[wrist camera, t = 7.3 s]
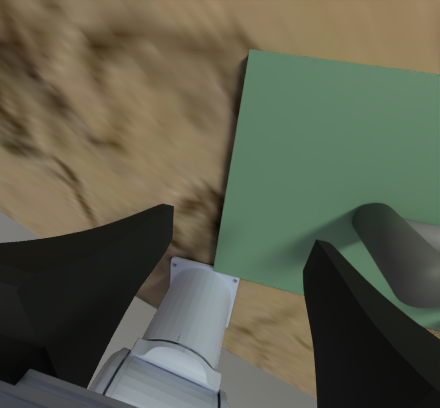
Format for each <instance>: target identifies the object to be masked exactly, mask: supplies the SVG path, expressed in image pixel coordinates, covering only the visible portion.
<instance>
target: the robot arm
mask: <svg viewBox="0 0 440 408" xmlns="http://www.w3.org/2000/svg"><path fill="white" fill-rule="evenodd" d="M173 213H174V206H171V205H166V204H160V205H157V206H155V207H152V208H150V209H147V210H145V211H142V212H140V213H137V214H135V215H132V216H130V217H127V218H124V219H121V220H119V221H116V222H113V223H110V224H107V225H104V226H100V227H97V228H93V229H89V230H85V231H81V232H76V233H71V234H66V235H62V236H56V237H50V238H43V239H36V240H28V241H20V242H7V243H0V408H230V406H229V403H228V400H227V395H226V393H225V392H224V391H221V390H219V385H220V380H221V374H220V373H218V372H216V371H217V366H218V361H219V356H220V352H221V347H222V342H223V337H224V332H225V328H227V327H228V324H229V320H230V316H231V312H232V308H233V304H234V300H235V296H236V292H237V288H238V284H239V280H240V278H237V277H233V276H229V275H225V274H222V273H218V272H214V271H213V268H214V266H211V265H207V264H203V263H199V262H195V261H192V260H188V259H184V258H180V257H176V256H174V257H173V258H172V259H171V272H170V287H169V289H168V291H167V293H166V295H165V297H164V298H163V300H162V302H161V304H160V306H159V308H158V310H157V312H156V314H155V315H154V317H153V319H152V321H151V323H150V325H149V327H148V328H147V330H146V332H145V334H144V336H143V338H142V339H141V338H138V339H137V341H136V343H135V345H134V347H133V348H132V350H129V349H127V348H123V349H121V350H120V351H118V352H116V353H114V354H113V355H112V356H111V357H110V358H109V359H108V360H107V362H106V363H105V364H104V365H103V367H102V369H101V370H100V371H99V373H98V374H97V376H96V378H95V379H94V381H93V382H92V384H91V386H90V387H89V389H87V387H88V385H89V382H90V380H91V378H92V376H93V374H94V372H95V370H96V368H97V366H98V364H99V362H100V360H101V358H102V355H103V354H104V352H105V350H106V348H107V346H108V344H109V342H110V340H111V338H112V336H113V334H114V332H115V331H116V329H117V327H118V325H119V323H120V321H121V320H122V318H123V316H124V314H125V312H126V310H127V309H128V307H129V305H130V303H131V302H132V300H133V298H134V296H135V295H136V293H137V292H138V290H139V289H140V287H141V286H142V284H143V283H144V282H145V280H146V279H147V277H148V276H149V275H150V273H151V272H152V270H153V269H154V268H155V266H156V265H157V263H158V262H159V261H160V259H161V258H162V256H163V255H164V253H165V251H166V250H167V248H168V246H169V244H170V242H171V240H172V235H173ZM174 263H175V264H174ZM176 264H177V265H176ZM233 279H235V280H233ZM303 290H304V296H305V302H306V308H307V313H308V318H309V324H310V329H311V334H312V341H313V348H314V360H315V372H316V389H317V408H440V339H438V338H437V337H436V336H434V335H433V334H432V333H430V332H429V331H428V330H426V329H425V328H423V327H422V326H421V325H419V324H418V323H417V322H415V321H414V320H413V319H411V318H410V317H409V316H408V315H406V314H405V313H404V312H403V311H401V310H400V309H399V308H398V307H396V306H395V305H394V304H393V303H392V302H390V301H389V300H388V299H387V298H386V297H385V296H383V295H382V294H381V293H380V292H379V291H378V290H377V289H376V288H375V287H374V286H373V285H372V284H370V283H369V282H368V281H367V280H366V279H365V278H364V277H363V276H362V275H361V274H360V273H359V272H358V271H357V270H356V269H355V268H354V267H353V266H352V265H351V264H350V263H349V262H348V261H347V259H346V258H345V257H344V256H343V255H342V254H341V253H340V252H339V251H338V250H337V249H336V248H335V247H334V246H333V245H332V244H331V243H330V242H326V241H322V240H317V239H316V241H315V243H314V245H313V248H312V250H311V252H310V255H309V257H308V259H307V262H306V264H305V266H304V269H303Z"/></svg>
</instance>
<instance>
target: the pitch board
mask: <svg viewBox="0 0 440 408" xmlns="http://www.w3.org/2000/svg"><path fill="white" fill-rule="evenodd" d="M371 203H383V204H386V205H388V206H390V207H391V208H392V209H393V210H394V211H395V212H397V213H398V214H399V215H400V216H401V217H402V218H406V219H410V220H415V221H420V222H425V223H429V224H434V225H439V226H440V74H433V73H425V72H417V71H410V70H402V69H395V68H387V67H380V66H372V65H364V64H357V63H349V62H342V61H334V60H327V59H319V58H311V57H304V56H296V55H289V54H281V53H274V52H266V51H258V50H251V49H250V51H249V57H248V63H247V69H246V75H245V81H244V87H243V93H242V99H241V105H240V111H239V117H238V123H237V129H236V135H235V141H234V147H233V153H232V159H231V165H230V171H229V177H228V183H227V189H226V195H225V201H224V208H223V214H222V220H221V226H220V232H219V238H218V244H217V250H216V256H215V262H214V268H213V271H214V272H218V273H222V274H225V275H229V276H233V277H237V278H241V279H244V280H248V281H252V282H256V283H260V284H263V285H267V286H271V287H275V288H279V289H282V290H286V291H290V292H294V293H297V294H301V295H304V290H303V269H304V266H305V264H306V262H307V259H308V257H309V255H310V252H311V250H312V248H313V245H314V243H315V241H316V239H317V240H322V241H326V242H330V243H331V244H332V245H333V246H334V247H335V248H336V249H337V250H338V251H339V252H340V253H341V254H342V255H343V256H344V257H345V258H346V259H347V261H348V262H349V263H350V264H351V265H352V266H353V267H354V268H355V269H356V270H357V271H358V272H359V273H360V274H361V275H362V276H363V277H364V278H365V279H366V280H367V281H368V282H369V283H370V284H372V285H373V286H374V287H375V288H376V289H377V290H378V291H379V292H380V293H381V294H382V295H383V296H385V297H386V298H387V299H388V300H389V301H390V302H392V303H393V304H394V305H395V306H396V307H398V308H399V309H400V310H401V311H403V312H404V313H405V314H406V315H408V316H409V317H410V318H411V319H413V320H414V321H415V322H417V323H418V324H419V325H421V326H423V327H426V328H430V329H434V330H438V331H440V306H439V307H434V308H416V307H411V306H408V305H406V304H404V303H402V302H401V301H399V300H398V299H397V298H396V296H395V295H394V293H393V291H392V290H391V288H390V286H389V285H388V283H387V281H386V280H385V278H384V277H383V275H382V273H381V272H380V270H379V268H378V267H377V265H376V263H375V262H374V260H373V259H372V257H371V255H370V254H369V252H368V250H367V249H366V247H365V245H364V244H363V242H362V241H361V239H360V237H359V236H358V234H357V232H356V231H355V229H354V227H353V225H352V219H353V216H354V214H355V213H356V211H357V210H359V209H360V208H361V207H363V206H365V205H367V204H371Z"/></svg>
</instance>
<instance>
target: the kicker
mask: <svg viewBox="0 0 440 408" xmlns="http://www.w3.org/2000/svg"><path fill="white" fill-rule="evenodd" d="M352 225H353V227H354V229H355V231H356V232H357V234H358V236H359V237H360V239H361V241H362V242H363V244H364V245H365V247H366V249H367V250H368V252H369V254H370V255H371V257H372V259H373V260H374V262H375V263H376V265H377V267H378V268H379V270H380V272H381V273H382V275H383V277H384V278H385V280H386V281H387V283H388V285H389V286H390V288H391V290H392V291H393V293H394V295H395V296H396V298H397V299H398V300H399V301H401V302H402V303H404V304H406V305H408V306H411V307H416V308H434V307H439V306H440V226H439V225H434V224H429V223H425V222H420V221H415V220H410V219H406V218H402V217H401V216H400V215H399V214H398V213H397V212H395V211H394V210H393V209H392V208H391V207H390V206H388V205H386V204H383V203H371V204H367V205H365V206H363V207H361V208H360V209H359V210H357V211H356V213H355V214H354V216H353V219H352Z"/></svg>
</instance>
